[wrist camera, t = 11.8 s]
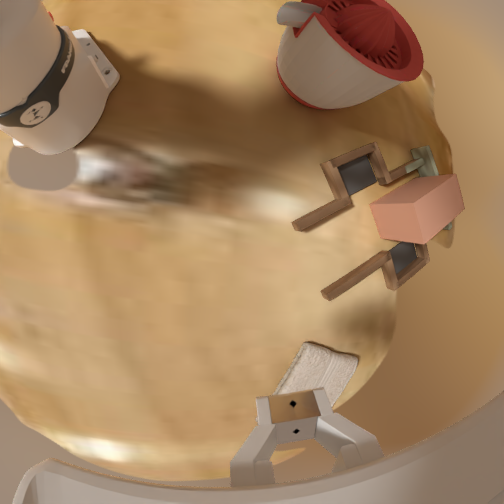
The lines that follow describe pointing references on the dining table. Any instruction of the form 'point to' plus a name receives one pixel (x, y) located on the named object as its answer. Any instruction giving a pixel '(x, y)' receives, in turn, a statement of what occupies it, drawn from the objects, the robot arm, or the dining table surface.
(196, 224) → the dining table surface
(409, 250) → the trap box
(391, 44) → the citrus juicer
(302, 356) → the washcloth
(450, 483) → the robot arm
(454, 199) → the terracotta block
